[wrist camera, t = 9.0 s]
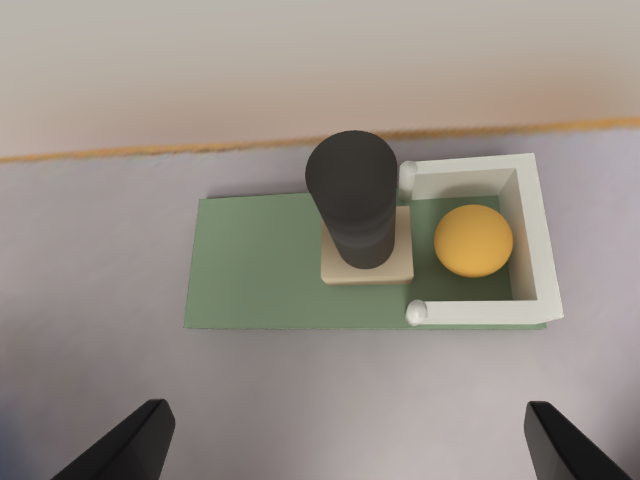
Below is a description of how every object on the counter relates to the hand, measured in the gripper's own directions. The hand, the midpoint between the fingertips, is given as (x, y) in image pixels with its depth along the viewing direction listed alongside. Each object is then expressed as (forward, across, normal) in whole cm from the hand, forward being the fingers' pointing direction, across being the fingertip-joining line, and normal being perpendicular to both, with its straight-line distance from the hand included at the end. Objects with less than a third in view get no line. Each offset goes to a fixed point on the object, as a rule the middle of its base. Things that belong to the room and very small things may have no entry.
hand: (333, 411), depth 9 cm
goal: (+14, -6, +4) cm, 16 cm away
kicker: (+14, -1, +3) cm, 14 cm away
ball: (+13, -6, +2) cm, 14 cm away
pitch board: (+15, +1, +4) cm, 15 cm away
